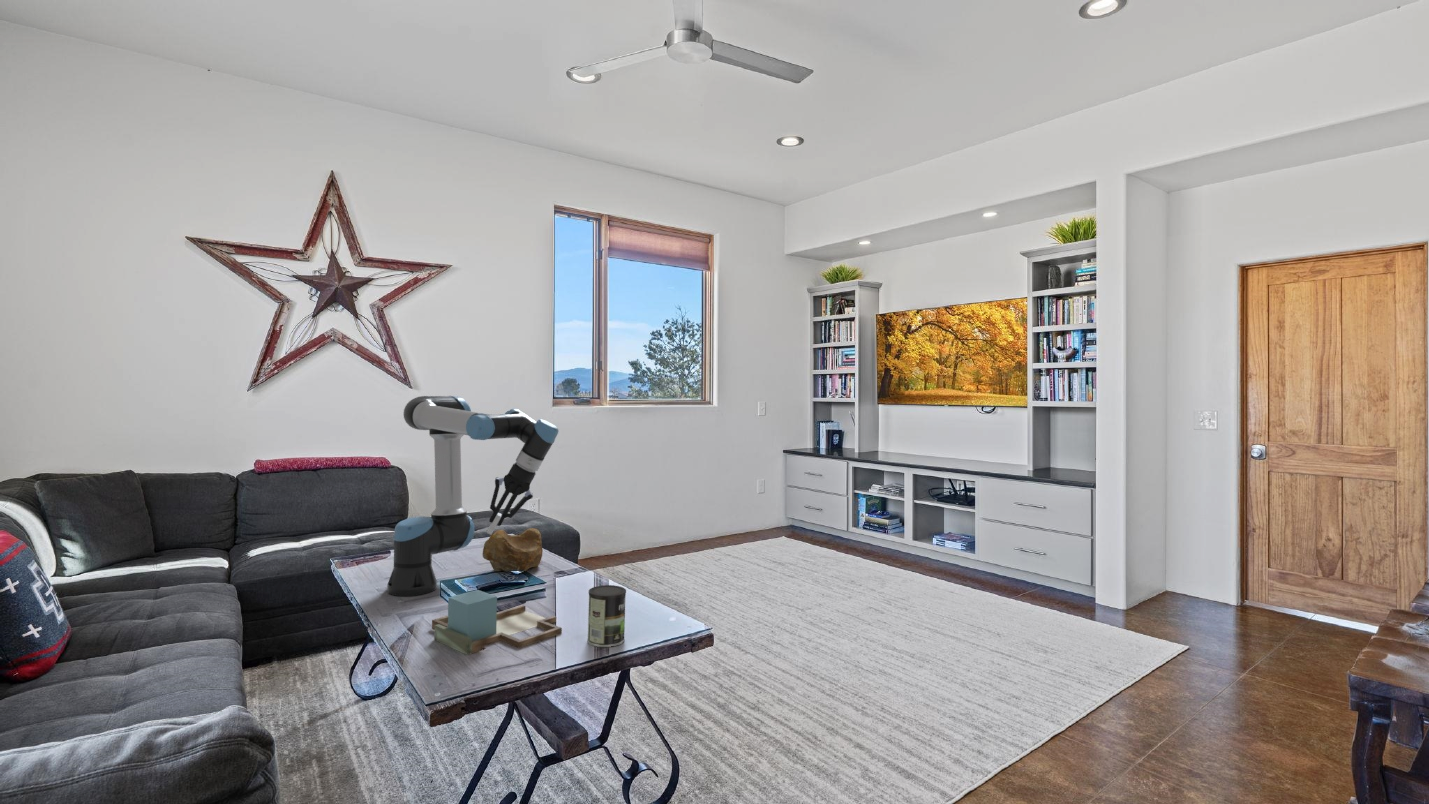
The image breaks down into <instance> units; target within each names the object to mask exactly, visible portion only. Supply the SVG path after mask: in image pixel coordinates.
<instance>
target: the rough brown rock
mask: <svg viewBox="0 0 1429 804" xmlns="http://www.w3.org/2000/svg"><path fill="white" fill-rule="evenodd" d="M543 551H544V550H543V545H542V534H541V532H540V531H539V529H537V528H533V527H529V528H527V529H526V530H525V531H523V532H522V533H521V534H519V535H518V534H508V533H507V532H506V531H505V530H504V529H498V530H496V531H495V532H493V533H492V535H490V536H489V538H488V539H487V540H485V543H484V545H483V549H482V558H483V559H484V560H486V561H489V563H490V565H491V568H492V569H493V571H494V572H501V571H503V572H505V571H506V572H507V571H509V572H510V571H525V572H526V571H528V570H529V569H530V568H537V567H539V565H540V564H541V560H542V559H543V558H542V557H543Z"/></svg>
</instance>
